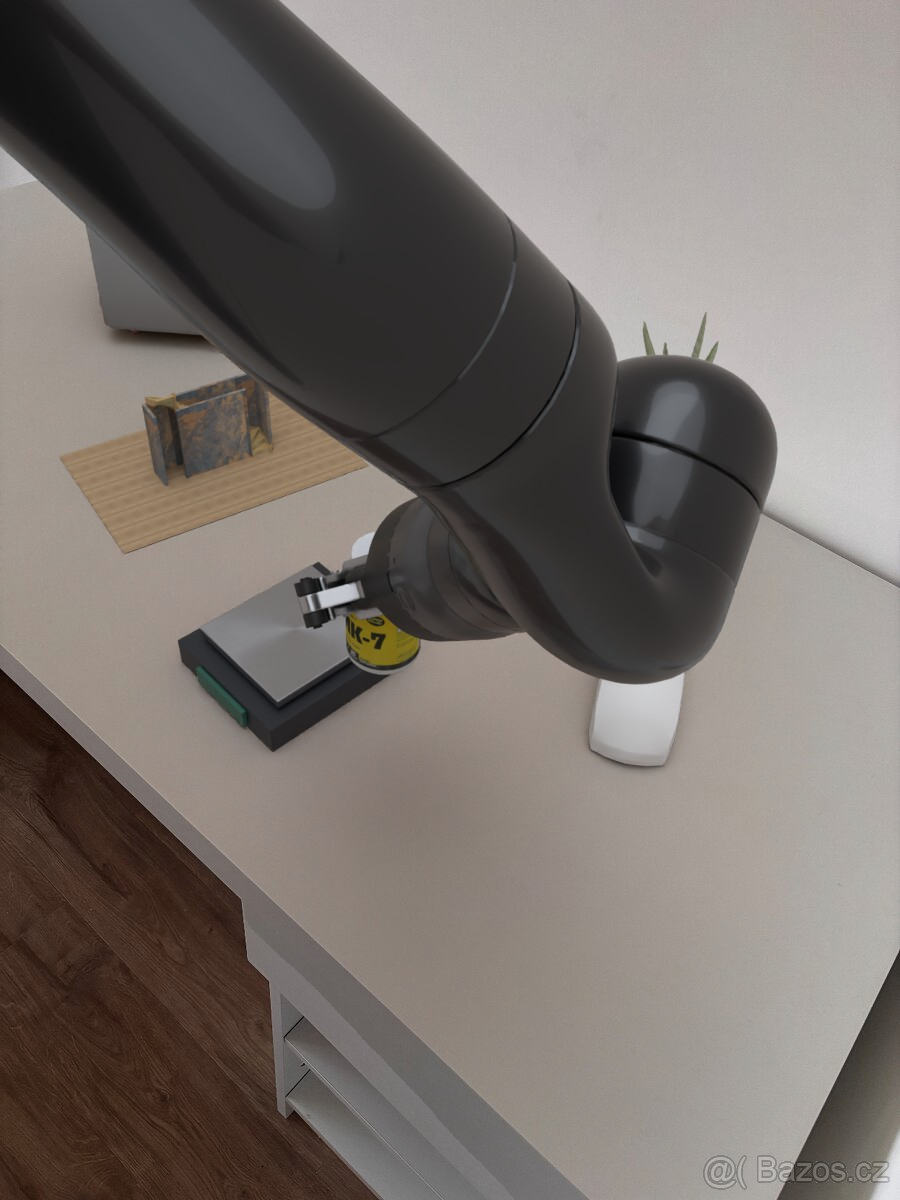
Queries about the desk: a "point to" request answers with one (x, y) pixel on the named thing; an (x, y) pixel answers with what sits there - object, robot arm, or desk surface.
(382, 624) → the supplement bottle
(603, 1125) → the desk surface
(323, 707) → the scale
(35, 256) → the desk surface
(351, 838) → the desk surface
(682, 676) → the computer mouse
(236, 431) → the ruin model on sheet
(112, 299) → the alarm clock
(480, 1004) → the desk surface
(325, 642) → the scale pan
